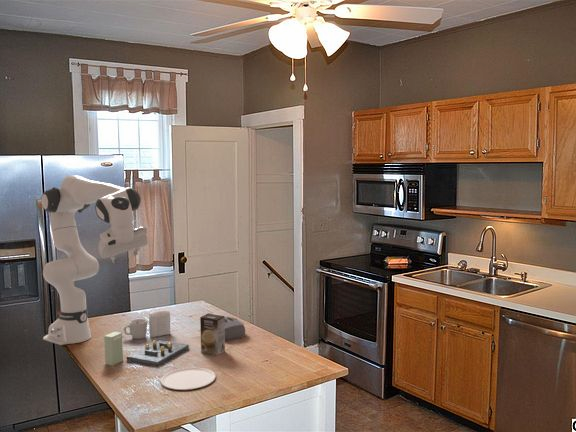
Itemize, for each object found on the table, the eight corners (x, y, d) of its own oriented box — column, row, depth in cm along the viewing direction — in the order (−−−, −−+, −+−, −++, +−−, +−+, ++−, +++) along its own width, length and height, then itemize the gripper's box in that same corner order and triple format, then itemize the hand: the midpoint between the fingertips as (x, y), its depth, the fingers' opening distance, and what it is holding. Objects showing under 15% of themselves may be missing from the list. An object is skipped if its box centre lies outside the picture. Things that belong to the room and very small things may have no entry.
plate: (219, 388, 195) (219, 384, 195) (162, 395, 190) (162, 392, 189) (211, 367, 215) (211, 364, 215) (159, 373, 209) (159, 370, 209)
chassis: (126, 361, 222) (126, 349, 221) (159, 344, 242) (159, 333, 242) (157, 366, 216) (157, 354, 215) (188, 349, 236) (188, 338, 235)
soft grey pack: (249, 337, 251) (230, 326, 268) (249, 320, 251) (229, 310, 267) (221, 343, 243) (202, 332, 260) (220, 325, 242) (202, 315, 259)
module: (105, 364, 219) (104, 335, 218) (115, 359, 224) (114, 331, 223) (113, 365, 217) (111, 337, 216) (123, 360, 223) (121, 332, 222)
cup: (125, 342, 245) (125, 325, 244) (122, 337, 252) (122, 321, 251) (149, 338, 250) (148, 322, 249) (145, 333, 257) (145, 317, 256)
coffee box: (200, 352, 231) (199, 317, 229) (208, 348, 236) (207, 313, 235) (218, 356, 227) (217, 319, 225) (225, 351, 233) (225, 315, 231)
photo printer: (168, 331, 260) (168, 307, 259) (172, 334, 256) (171, 309, 255) (148, 335, 254) (147, 310, 253) (151, 338, 251) (150, 312, 249)
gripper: (143, 221, 225) (144, 246, 234) (95, 235, 214) (98, 261, 223) (149, 230, 221) (150, 254, 230) (101, 244, 211) (104, 270, 219)
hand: (124, 257), depth 226 cm, fingers open, 8 cm apart
